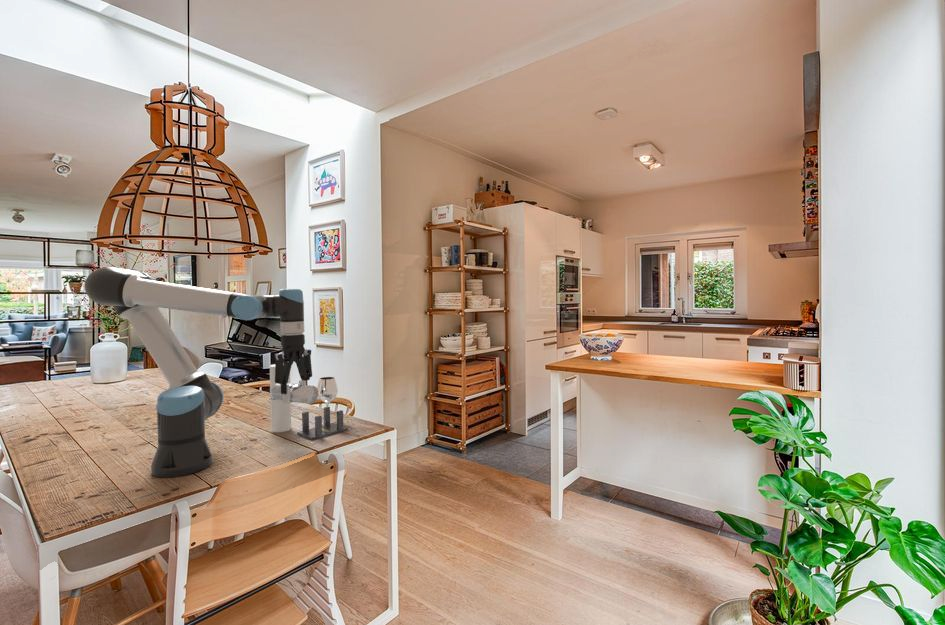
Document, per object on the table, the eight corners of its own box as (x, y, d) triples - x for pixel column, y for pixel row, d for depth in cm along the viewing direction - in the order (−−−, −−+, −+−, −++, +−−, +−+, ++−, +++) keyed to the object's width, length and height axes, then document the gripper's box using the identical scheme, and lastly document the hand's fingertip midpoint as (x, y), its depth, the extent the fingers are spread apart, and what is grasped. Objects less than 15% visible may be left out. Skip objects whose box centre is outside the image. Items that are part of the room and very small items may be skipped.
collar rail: (312, 440, 153) (311, 418, 153) (297, 434, 160) (296, 413, 159) (347, 430, 165) (347, 409, 165) (332, 425, 171) (332, 405, 171)
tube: (318, 402, 147) (318, 384, 147) (304, 405, 142) (303, 387, 142) (286, 398, 155) (286, 381, 155) (271, 401, 149) (271, 383, 149)
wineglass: (321, 426, 170) (320, 380, 170) (314, 421, 177) (313, 378, 176) (341, 422, 176) (340, 378, 175) (333, 418, 182) (332, 375, 181)
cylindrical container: (277, 433, 161) (275, 367, 160) (267, 430, 165) (266, 365, 165) (294, 429, 167) (293, 364, 166) (284, 425, 171) (283, 363, 170)
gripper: (275, 336, 137) (278, 408, 138) (322, 332, 154) (324, 396, 155) (260, 336, 141) (262, 406, 142) (307, 331, 158) (309, 394, 159)
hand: (295, 400), depth 148 cm, fingers closed on tube, 6 cm apart
